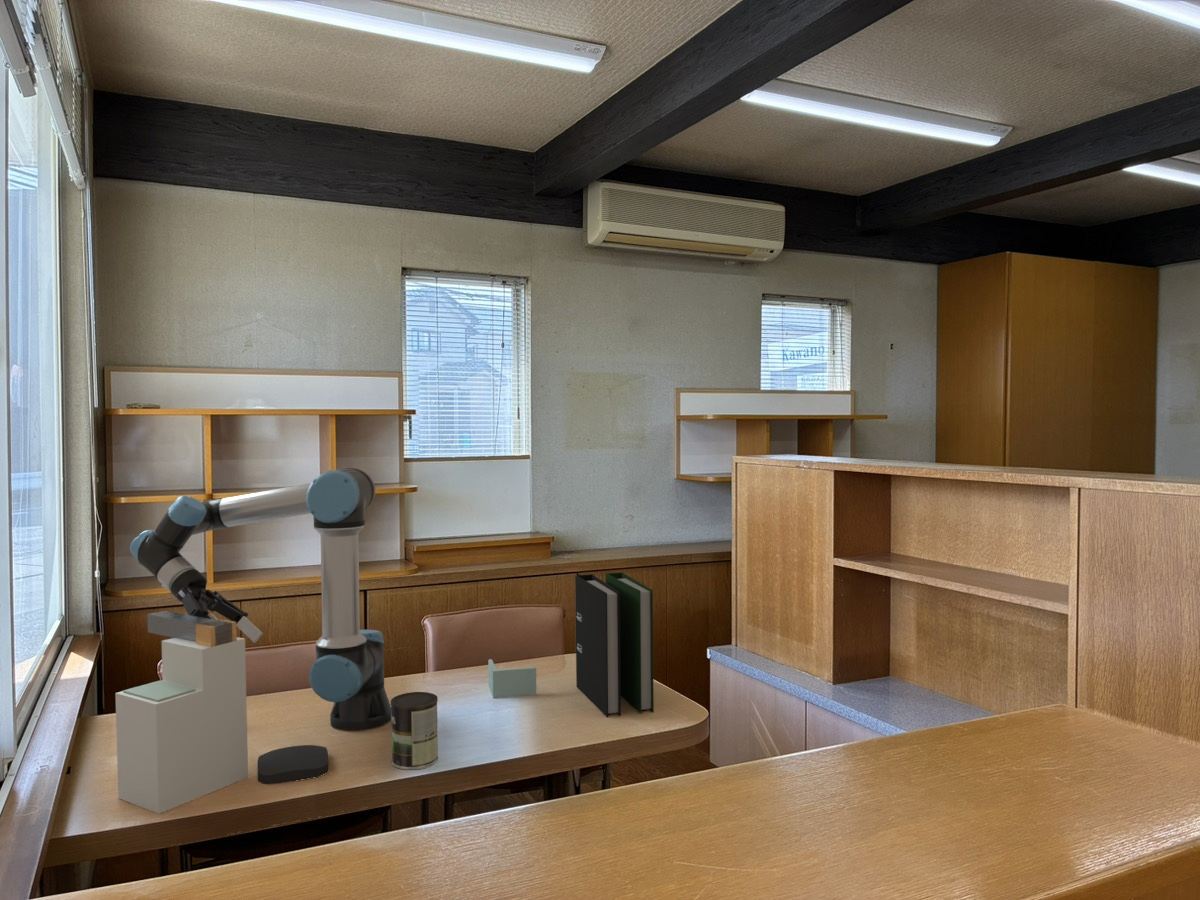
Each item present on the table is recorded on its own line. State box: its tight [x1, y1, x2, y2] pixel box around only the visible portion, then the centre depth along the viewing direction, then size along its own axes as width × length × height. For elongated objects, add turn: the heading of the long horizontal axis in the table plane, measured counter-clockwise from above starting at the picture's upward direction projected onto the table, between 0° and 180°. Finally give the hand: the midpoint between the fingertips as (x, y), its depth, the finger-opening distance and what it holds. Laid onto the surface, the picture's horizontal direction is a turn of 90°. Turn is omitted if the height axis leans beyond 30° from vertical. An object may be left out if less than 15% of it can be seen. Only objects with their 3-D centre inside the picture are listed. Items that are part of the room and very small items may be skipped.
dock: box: [114, 636, 249, 815], centre depth 179 cm, size 14×20×30 cm
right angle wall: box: [487, 658, 537, 699], centre depth 243 cm, size 12×12×8 cm
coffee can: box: [390, 691, 439, 771], centre depth 192 cm, size 10×10×14 cm
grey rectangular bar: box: [146, 610, 238, 647], centre depth 185 cm, size 24×6×4 cm, turn 59°
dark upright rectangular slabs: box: [574, 572, 655, 718], centre depth 233 cm, size 27×15×32 cm, turn 17°
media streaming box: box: [256, 744, 329, 785], centre depth 189 cm, size 15×15×3 cm
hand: (243, 637), depth 198 cm, fingers open, 13 cm apart
